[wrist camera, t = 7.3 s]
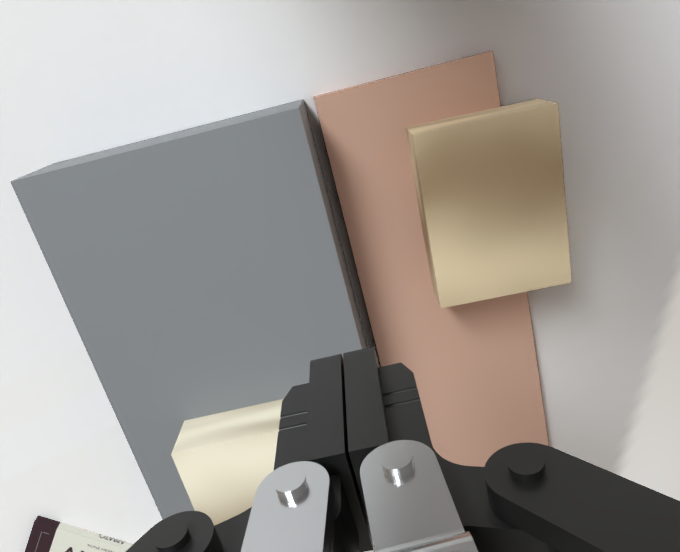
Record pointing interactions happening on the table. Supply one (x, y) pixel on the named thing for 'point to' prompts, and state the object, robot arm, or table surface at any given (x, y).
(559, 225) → the oak tile
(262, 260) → the slate board
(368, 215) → the rubber mat
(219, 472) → the birch tile
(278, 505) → the robot arm
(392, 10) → the table surface
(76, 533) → the chocolate bar
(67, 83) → the table surface
